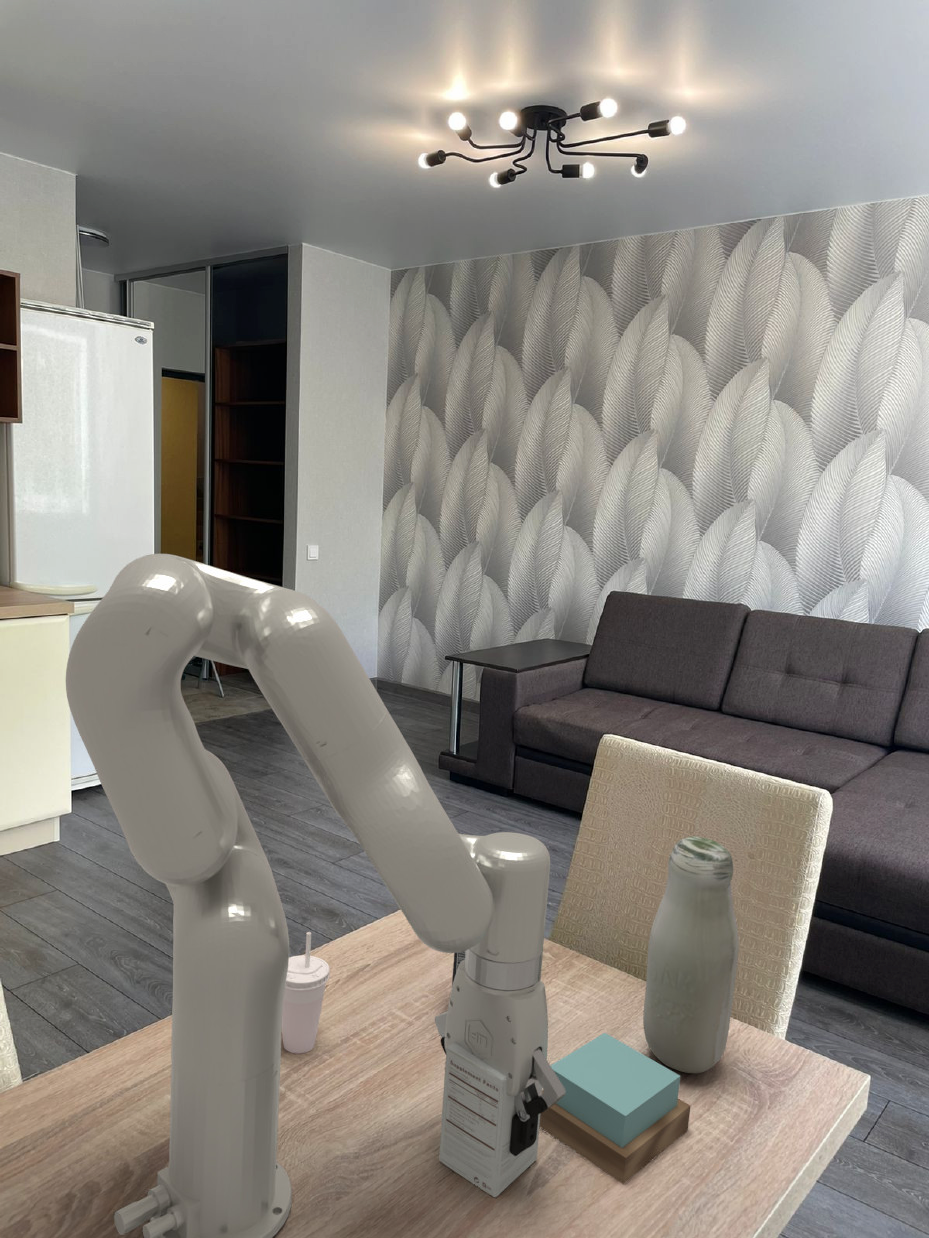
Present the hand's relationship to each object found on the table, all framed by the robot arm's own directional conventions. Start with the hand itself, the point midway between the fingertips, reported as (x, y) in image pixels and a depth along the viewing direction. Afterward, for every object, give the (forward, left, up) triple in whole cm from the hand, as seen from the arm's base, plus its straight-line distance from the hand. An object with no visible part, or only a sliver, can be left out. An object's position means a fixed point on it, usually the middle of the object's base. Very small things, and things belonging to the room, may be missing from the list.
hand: (490, 1124), depth 93 cm
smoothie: (-3, +28, -4) cm, 28 cm away
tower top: (+14, -5, -1) cm, 15 cm away
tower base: (+14, -5, -5) cm, 16 cm away
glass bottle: (+30, -4, -4) cm, 30 cm away
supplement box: (0, 0, -4) cm, 4 cm away
